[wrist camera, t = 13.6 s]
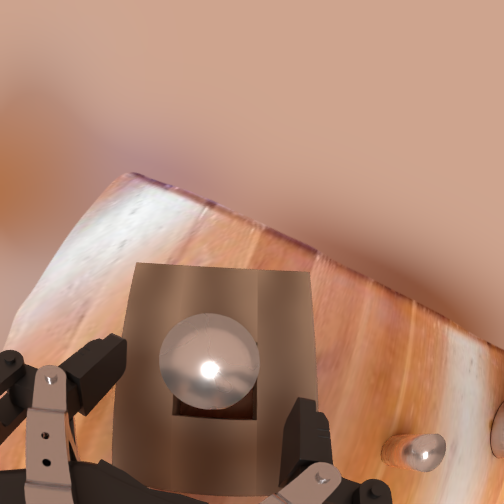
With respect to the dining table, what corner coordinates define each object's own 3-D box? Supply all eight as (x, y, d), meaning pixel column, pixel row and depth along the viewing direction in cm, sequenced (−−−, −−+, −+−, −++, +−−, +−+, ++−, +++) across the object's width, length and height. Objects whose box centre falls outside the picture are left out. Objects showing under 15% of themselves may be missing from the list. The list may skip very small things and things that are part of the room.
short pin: (409, 431, 21) (445, 429, 16) (409, 461, 19) (445, 464, 14) (380, 438, 21) (415, 440, 16) (380, 469, 19) (414, 477, 14)
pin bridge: (288, 309, 28) (309, 271, 21) (290, 469, 19) (317, 490, 12) (157, 302, 27) (136, 262, 20) (144, 461, 18) (112, 478, 11)
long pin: (239, 372, 24) (260, 315, 10) (239, 409, 22) (259, 411, 9) (200, 369, 24) (164, 309, 10) (198, 407, 22) (155, 403, 8)
